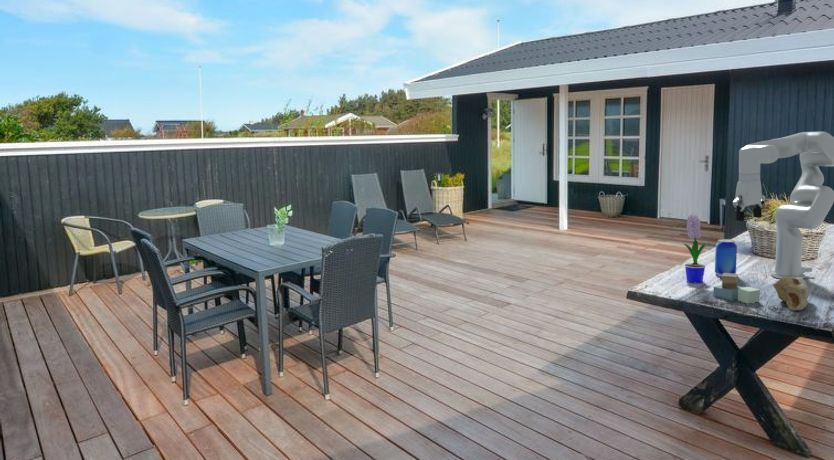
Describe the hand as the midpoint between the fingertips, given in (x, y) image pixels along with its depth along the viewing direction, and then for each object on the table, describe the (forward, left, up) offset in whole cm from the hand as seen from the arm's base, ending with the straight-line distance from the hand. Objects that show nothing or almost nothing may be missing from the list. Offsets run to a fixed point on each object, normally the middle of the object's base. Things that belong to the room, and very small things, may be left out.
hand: (748, 219), depth 233 cm
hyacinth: (+16, -10, -29) cm, 34 cm away
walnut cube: (+14, +13, -25) cm, 32 cm away
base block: (+15, +14, -29) cm, 35 cm away
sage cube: (+12, +22, -29) cm, 38 cm away
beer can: (-1, -18, -29) cm, 34 cm away
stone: (0, +27, -29) cm, 40 cm away
